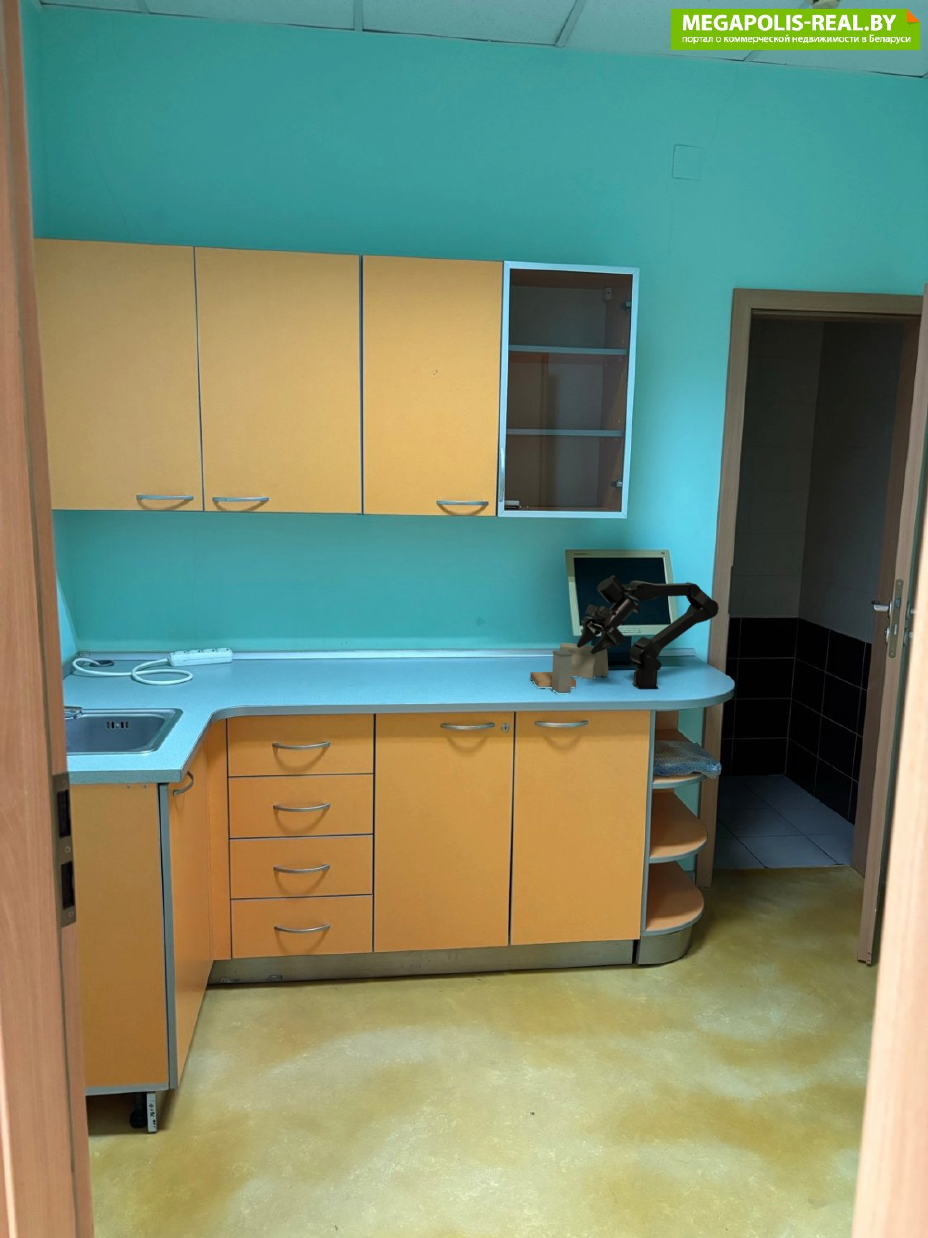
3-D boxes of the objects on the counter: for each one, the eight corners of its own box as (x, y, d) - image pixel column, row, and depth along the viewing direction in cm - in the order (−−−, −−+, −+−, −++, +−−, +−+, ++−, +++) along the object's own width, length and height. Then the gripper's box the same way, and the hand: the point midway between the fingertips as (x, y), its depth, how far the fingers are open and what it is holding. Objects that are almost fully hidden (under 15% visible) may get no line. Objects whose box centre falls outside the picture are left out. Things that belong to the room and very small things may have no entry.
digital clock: (611, 677, 308) (612, 645, 306) (597, 682, 301) (599, 650, 299) (568, 669, 318) (569, 638, 316) (554, 674, 310) (555, 643, 309)
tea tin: (563, 690, 289) (565, 650, 287) (570, 694, 285) (572, 653, 282) (551, 691, 288) (552, 650, 286) (558, 695, 283) (560, 654, 281)
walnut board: (566, 679, 304) (566, 671, 303) (575, 688, 292) (576, 680, 292) (530, 679, 302) (530, 672, 302) (538, 689, 290) (538, 681, 290)
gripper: (588, 591, 294) (555, 627, 292) (617, 600, 277) (582, 638, 275) (609, 614, 298) (576, 650, 296) (639, 625, 281) (605, 663, 279)
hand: (584, 650), depth 286 cm, fingers open, 9 cm apart
